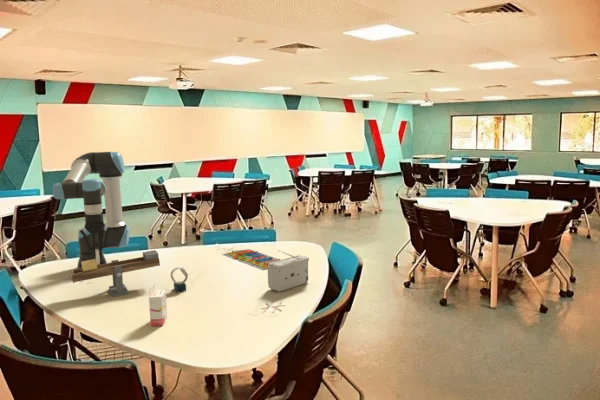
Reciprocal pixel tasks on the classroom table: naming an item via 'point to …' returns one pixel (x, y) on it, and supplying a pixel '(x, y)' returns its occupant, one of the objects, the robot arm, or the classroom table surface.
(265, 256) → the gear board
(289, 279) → the stereo radio cassette player
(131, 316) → the classroom table surface
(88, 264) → the brass rider
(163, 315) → the ink cartridge box
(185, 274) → the watch
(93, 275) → the balance beam
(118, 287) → the pivot stand
